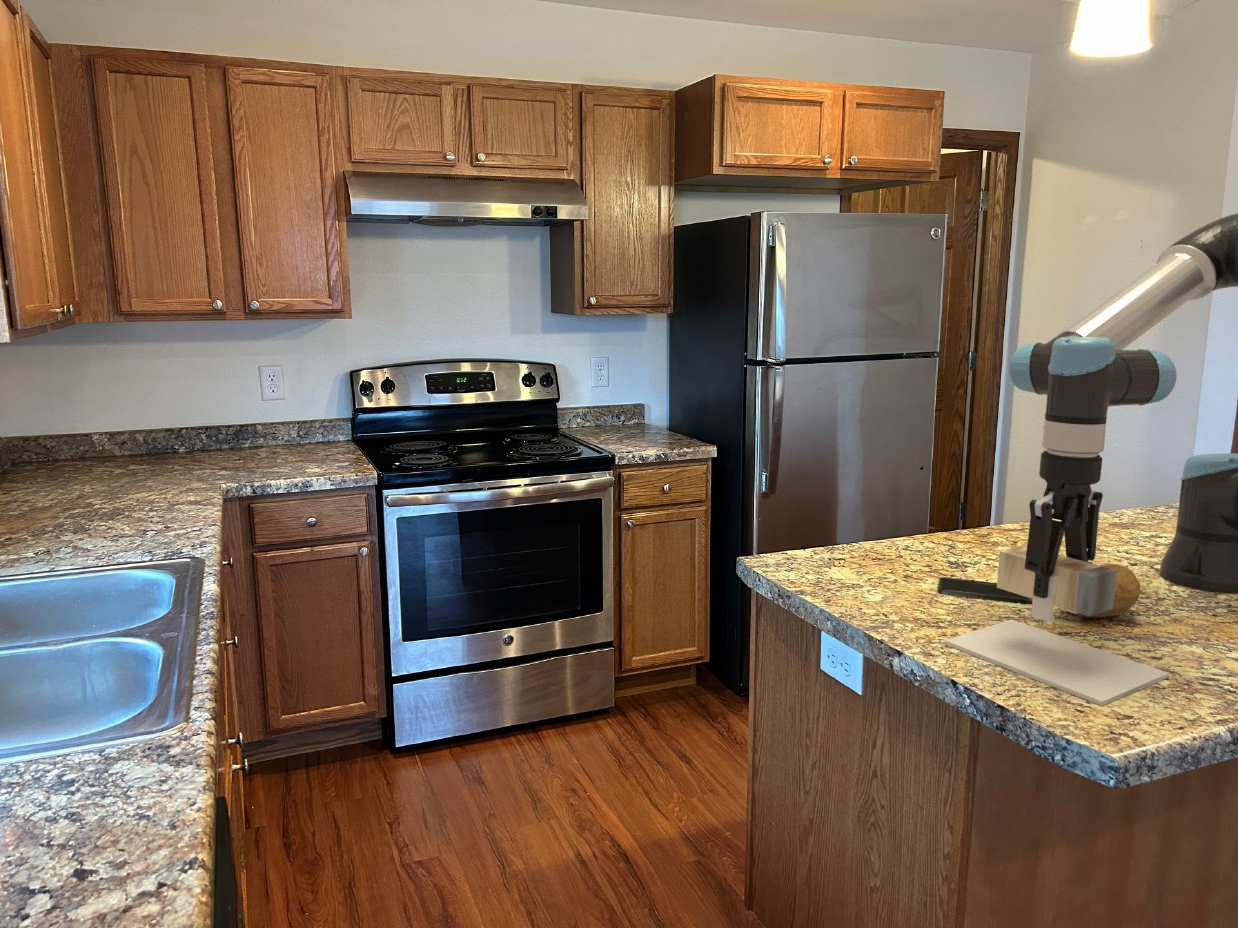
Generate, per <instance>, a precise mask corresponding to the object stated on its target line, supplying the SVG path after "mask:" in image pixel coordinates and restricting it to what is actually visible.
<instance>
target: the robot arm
mask: <svg viewBox="0 0 1238 928" xmlns="http://www.w3.org/2000/svg"><path fill="white" fill-rule="evenodd" d="M1236 287H1237V288H1238V213H1237V212H1236V213H1233V214H1230V215H1225V216H1224V217H1220V218H1218V219H1217V220H1214V221H1211V222H1209V223H1207V224H1205V225H1202V226H1201V227H1199V228H1197V229H1196V230H1194V231H1192V232H1190V233H1188V234H1186V235H1185V236H1184V237H1182V238H1180V239H1178V240H1177V241H1175V242H1174V243H1173V244H1171V245H1170V246H1169V247H1167V248H1166V249H1165V250H1164V251H1162V252H1161V253H1160V254H1159V255H1158V258H1157V260H1156V264H1155V265H1153V266H1152V267H1150V268H1149V269H1147V270H1146V271H1145V272H1143V273H1142V274H1140V275H1139V276H1138V277H1137V278H1135V279H1134V280H1132V281H1131V282H1129V283H1128V284H1126V286H1124V287H1123V288H1121V289H1120V290H1119V291H1117V292H1116V293H1114V294H1113V295H1112V296H1110V297H1109V298H1107V299H1106V300H1105V301H1104V302H1102V303H1101V304H1099V305H1098V306H1097V307H1095V308H1094V309H1092V310H1091V311H1090V312H1088V313H1087V314H1085V315H1084V316H1083V317H1081V318H1080V319H1079V320H1077V321H1076V322H1074V323H1073V324H1072V325H1070V326H1069V327H1068V328H1066V329H1065V330H1063V331H1062V332H1060V333H1058V335H1057V336H1055V337H1054V338H1052V339H1050V340H1049V341H1048V342H1045V343H1042V342H1035V343H1025V344H1023V345H1021V346H1020V347H1018V348H1017V349H1016V350H1015V352H1014V354H1012V357H1011V359H1010V363H1009V375H1010V379H1011V381H1012V383H1013V385H1014V386H1015V387H1016V388H1017V389H1018V390H1020V391H1023V392H1029V393H1033V394H1036V395H1039V396H1043V395H1044V396H1045V395H1046V405H1045V406H1046V407H1045V413H1044V424H1043V426H1042V427H1043V435H1042V443H1041V445H1042V447H1043V448H1044V450H1043V452H1041V453H1040V462H1039V477H1040V478H1041V479H1042V480H1044V481H1045V482H1046V487H1045V490H1044V493H1043V497H1042V498H1041V499H1039V500H1036V499H1031V500H1030V502H1029V515H1030V519H1029V527H1028V536H1027V537H1028V538H1027V545H1026V546H1027V552H1026V560H1025V569H1026V570H1029V571H1032V572H1034V573H1035V581H1034V592H1033V593H1034V595H1033V599H1032V607H1031V617H1032V618H1036V619H1038V620H1041V621H1044V622H1047V623H1052V622H1053V620H1054V611H1055V606H1054V603H1055V592H1056V582H1057V576H1056V575H1053V573H1054V569H1055V565H1056V561H1057V558H1058V555H1060V554H1059V553H1060V550H1061V546H1062V542H1063V539H1064V542H1065V545H1064V546H1065V556H1066V557H1070V558H1073V559H1077V560H1081V561H1085V562H1089V563H1092V564H1094V563H1093V561H1095V559H1096V552H1097V551H1096V550H1097V549H1096V548H1097V540H1098V528H1099V516H1100V509H1101V508H1100V507H1101V504H1102V501H1103V498H1104V497H1103V496H1104V495H1103V494H1104V493H1103V492H1100V491H1095V490H1092V488H1091V485H1095V484H1098V483H1099V482H1100V481H1101V477H1102V475H1101V474H1102V466H1103V457H1102V456H1101V455H1100V454H1099V453H1102V452H1104V449H1105V441H1106V428H1107V419H1108V410H1109V407H1116V406H1137V405H1138V406H1141V407H1142V406H1145V405H1148V404H1153V403H1159V402H1160V401H1163V400H1164V399H1166V398H1168V396H1169V395H1170V394H1171V393H1172V392H1173V390H1174V388H1175V386H1176V383H1177V369H1176V365H1175V363H1174V362H1173V360H1172V359H1171V357H1170V356H1168V355H1167V354H1166V353H1164V352H1162V351H1159V350H1153V349H1152V350H1151V349H1148V348H1147V349H1144V348H1143V349H1141V348H1140V349H1137V350H1131V349H1125V348H1127V347H1128V346H1130V345H1131V344H1132V343H1134V342H1135V341H1136V340H1138V339H1139V338H1141V336H1143V335H1144V334H1145V333H1147V332H1148V331H1149V330H1151V329H1152V328H1154V327H1155V326H1156V325H1158V324H1159V323H1160V322H1162V321H1163V320H1164V319H1165V318H1167V317H1168V316H1170V315H1171V314H1173V312H1175V311H1176V310H1178V309H1180V308H1181V306H1183V305H1185V304H1186V303H1187V302H1188V301H1194V300H1195V301H1196V300H1201V299H1203V298H1204V297H1206V296H1208V295H1209V294H1211V293H1212V292H1213V291H1217V290H1221V289H1226V288H1236ZM1045 449H1046V450H1045ZM1180 481H1181V482H1180V483H1181V486H1180V492H1179V503H1178V509H1177V511H1178V512H1177V521H1176V529H1175V535H1174V537H1173V539H1172V540H1171V543H1170V544H1169V546H1168V548H1167V550H1166V552H1165V554H1164V555H1163V557H1162V560H1161V562H1160V567H1159V576H1160V577H1161V578H1163V580H1165V581H1168V582H1170V583H1172V584H1174V585H1178V586H1181V587H1184V588H1188V589H1192V590H1197V591H1202V592H1207V593H1208V592H1209V593H1215V594H1216V593H1217V594H1228V595H1238V453H1232V452H1231V453H1205V454H1196V455H1193V456H1190V457H1188V458H1187V460H1186V461H1185V464H1184V467H1183V472H1182V477H1181V478H1180ZM1057 608H1058V609H1059V610H1061V611H1062V610H1063V611H1065V612H1069V613H1072V614H1075V615H1076V614H1077V613H1076V612H1073V611H1070V610H1067V609H1064V608H1060V607H1057ZM1077 615H1078V614H1077Z"/></svg>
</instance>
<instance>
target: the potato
mask: <svg viewBox="0 0 1238 928" xmlns="http://www.w3.org/2000/svg"><path fill="white" fill-rule="evenodd" d="M1099 565H1100V566H1104V567H1108V568H1111V569H1115V570H1117V574H1116V583H1115V592H1114V601H1113V609H1110V610H1107V611H1105V612H1102V613H1099V614H1096V615H1093V616H1090V617H1089V616H1086V615H1083V614H1080V613H1077V615H1078V616H1081V617H1083V618H1088V619H1090V618H1091V619H1093V618H1094V619H1097V618H1104V617H1105V618H1106V617H1111V616H1117V615H1120V614H1122V613H1123V612H1126V611H1127V610H1129V609H1130V608H1132V607H1133V606H1135V604H1136V603H1137V601H1138V599H1139V597H1140V594H1141V587H1140V586H1141V584H1140V582H1139V580H1138V578H1137V576H1136V575H1135V573H1134V572H1133V571H1132V570H1131V569H1130V568H1127V567H1126V566H1124V565H1122V564H1116V563H1115V564H1114V563H1109V564H1099Z"/></svg>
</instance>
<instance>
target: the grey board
mask: <svg viewBox="0 0 1238 928" xmlns="http://www.w3.org/2000/svg"><path fill="white" fill-rule="evenodd" d="M944 645H945V646H948V645H949V646H948V647H951V648H954V649H956V650H958V649H959V650H958V651H960V650H961V652H963V653H966V654H968V655H971V656H973V657H975V658H976V657H977V658H979V659H982V660H983V659H984V661H987V662H989V663H991V664H995V665H997V666H998V667H999V666H1000V667H1002V668H1004V667H1005V669H1006V668H1007V670H1009V671H1011V670H1012V672H1015V673H1017V674H1020V675H1022V676H1025V677H1028V678H1030V679H1032V680H1035V681H1036V682H1040V683H1043V684H1045V685H1047V686H1050V687H1053V688H1054V689H1058V690H1060V691H1062V692H1065V693H1067V694H1071V695H1073V696H1076V697H1078V698H1081V699H1083V700H1086V701H1088V702H1091V703H1094V704H1096V705H1098V706H1101V707H1103V706H1106V705H1107V704H1110V703H1112V702H1115V701H1117V700H1120V699H1122V698H1123V697H1126V696H1129V695H1130V694H1133V693H1136V692H1139V691H1140V690H1142V689H1145V688H1147V687H1149V686H1152V685H1154V684H1156V683H1158V682H1161V681H1163V680H1165V679H1168V678H1169V677H1170V672H1167V671H1165V670H1161V669H1158V668H1156V667H1152V666H1149V665H1146V664H1143V663H1141V662H1137V661H1135V660H1132V659H1128V658H1125V657H1123V656H1119V655H1117V654H1114V653H1111V652H1108V651H1105V650H1102V649H1099V648H1096V647H1093V646H1091V645H1087V644H1084V643H1081V642H1079V641H1077V640H1076V641H1075V640H1073V639H1069V638H1067V637H1064V636H1061V635H1058V634H1056V633H1052V632H1049V631H1046V630H1043V629H1041V628H1038V627H1035V626H1032V625H1029V624H1026V623H1023V622H1020V621H1018V620H1014V619H1008V620H1006V621H1005V620H1004V621H1002V622H998V623H996V624H993V625H989V626H987V627H982V628H979V629H976V630H973V631H970V632H968V633H967V632H966V633H963V634H961V635H958V636H954V637H951V638H948V639H944Z"/></svg>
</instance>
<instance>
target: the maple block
mask: <svg viewBox="0 0 1238 928" xmlns="http://www.w3.org/2000/svg"><path fill="white" fill-rule="evenodd" d="M1026 552H1027V545H1023V544H1022V545H1019V546H1015V547H1011V548H1008V549H1003V550H999V555H998V568H997V581H996V583H997V588H1000V589H1003V590H1006V591H1009V592H1013V593H1016V594H1019V595H1022V596H1025V597H1028V598H1032V600H1033V595H1034V593H1033V592H1034V581H1035V573H1034V572H1032V571H1029V570H1026V569H1025V560H1026ZM1089 562H1090V561H1088V562H1085V561H1081V560H1077V559H1073V558H1070V557H1066V555H1061V554H1058V558H1057V561H1056V565H1055V569H1054V573H1053V575H1056V576H1057V582H1056V592H1055V603H1054V607H1057V608H1058V607H1060V608H1064V609H1067V610H1070V611H1073V612H1076V613H1080V614H1083V615H1086V616H1089V617H1090V616H1093V615H1096V614H1099V613H1102V612H1105V611H1107V610H1110V609H1113V601H1114V592H1115V583H1116V574H1117V570H1115V569H1111V568H1108V567H1104V566H1100V565H1101V564H1095V563H1093V562H1092V563H1093V564H1092V563H1089Z"/></svg>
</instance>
